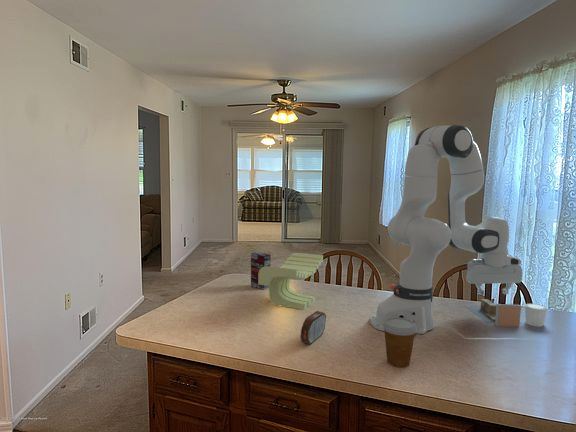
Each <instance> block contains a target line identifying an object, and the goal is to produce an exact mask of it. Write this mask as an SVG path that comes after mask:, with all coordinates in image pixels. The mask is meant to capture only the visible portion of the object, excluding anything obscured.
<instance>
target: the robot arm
mask: <svg viewBox="0 0 576 432" xmlns="http://www.w3.org/2000/svg"><path fill="white" fill-rule="evenodd" d="M445 158H446V159H447V161H448V164H449V172H450V179H451V180H450V186H449V188H448V191H447V192H448V193H447V212H448V216H447V217H448V224H447V223H445V222H443V221H442V220H439V219H436V218H432V217H431V218H430V217H425V216H426V212H427V209H428V208H429V206H430V205H432V204H433V203H434V202H436V199H437V195H438V194H437V192H438V179H439V178H438V176H439V175H438V174H439V167H438V165H439V162H440V160H441V159H445ZM404 167H405V168H404V179H403V192H402V199H401V203H400V206H399V209H398V210H397V213H396V214H395V215H394V216H393V217H392V218H391V219H390V220H389V222H388V224H387V233H388V235H389V237H390V238H391V239H392V240H393V241H395V242H397V243H398V244H401V245H403V246H404V245H405V246H407V247H410V250H409V254H408V257H406V258H404V259H403V260H402V261H401V262H400V265H399V266H400V267H399V283H398V284H395V283H391V284H390V285H389V288H390V289H391V290H392V291H393V294H392V295H390V296H389V297H387V298H386V299H384V300H383V301H381V302H380V303H379V304H378V306H377V309H376V314H371V316H370V317H369V323H370V325H371V326H372V327H373V328H374V329H376V330H378V331H382V332H385V331H384V327H383V324H384V322H385V320H386V319H388V318H393V317H399V318H406V319H409V320H412V321H414V322H415V323H416V327H417V331H416V333H415V334H419V335H420V334H421V335H423V334H425V333H427V331H431V330H432V329H433V330H434V328H435V323H434V319H433V309H432V302H433V298H434V291H433V289H434V287H433V286H432V284H433V283H432V282H433V270H434V265H435V262H436V259H437V257H438V255H440V253H441V252H442V251H443V250H445V249H446V248H447V247H448V246H450V247H452V248H454V249H457V250H463V251H466V252H467V251H468V252H472V253H476V254H481V258H479V259H476V258H473V259H470V260H469V261H468V262H467V264H466V265H467V266H466V269H467V271H466V275H465V277H466V278H465V280H466V281H467V282H468V283H469V284H471V285H474V284H475V287H476V288H477V293H478V295H481V296H484V295H485V290H484V289H482V288H481V287H482V284H484V285H485V284H489V285H490V284H505V287H504V288H502V290H501V291H502V294H503V295H509V290H510V289H511V288H512V285H513V284H520V283H521V282H522V281H523V268H522V266H521V264H522V259H521V258H519V257H516V256H514V255H510V254H509V250H508V243H509V241H510V227H509V222H508V219H505V218H503V217H497V216H491V215H490V216H489V215H488V216H486V217H485V219H484V220H483V221H482V222H480V223H479V224H477V225H471V224H468V223H467V222H466V209H465V207H466V200H467V199H468V198H469V197H471V196H473V195H475V194H477V193H478V192H479V191H480V190H481V189H482V188H483V186H484V184H485V171H484V163H483V160H482V157H481V153H480V150H479V147H478V145H477V143H476V142H475V141H474V138H473V135H472V133H471V131H470V130H469V128H468V127H467V126H464V125H461V124H453V125H444V124H443V125H437V126H433V127H427V128H425V129H423V130H421V131H420V132H419V133H418V134H417V136H416V139H415V142H414V145H413V146H412V147H410V149H409V150H408V152H407V157H406V161H405V166H404Z"/></svg>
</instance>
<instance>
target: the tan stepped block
mask: <svg viewBox="0 0 576 432" xmlns="http://www.w3.org/2000/svg"><path fill="white" fill-rule="evenodd" d="M480 306H481V310H483V311H484V312H486V313H487V314H486V316H487V317H488V318H489V319H491V320H492V321H495V317H496V303H494V302H492V301H491V300H489V299H488V298H487V299H486V298H485V299H484V298H480Z"/></svg>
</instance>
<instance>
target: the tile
mask: <svg viewBox="0 0 576 432" xmlns="http://www.w3.org/2000/svg"><path fill="white" fill-rule="evenodd" d="M495 304H496V303H495ZM521 311H522V305H520V304H512V303H511V304H510V303H509V304H506V303H504V304H501V303H499V304H496V317H495V323H494V325H495V326H496V327H520V323H521V313H522V312H521Z"/></svg>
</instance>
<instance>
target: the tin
mask: <svg viewBox="0 0 576 432" xmlns="http://www.w3.org/2000/svg"><path fill="white" fill-rule="evenodd" d="M326 320H327V314H326V313H325V312H322V311H319V310H316V311H314V312H313V313H311V314H309V315H308V316H307V317H306V318H305V319H304V321H303V323H302V325H301V329H300V341H301V342H302V343H303V344H308V345H312V344H313V343H315V341H317V340H318V339H319V338H320V337H321V336H322V335H323V334H324V331H325V329H326V328H325V327H326V323H327V321H326Z"/></svg>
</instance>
